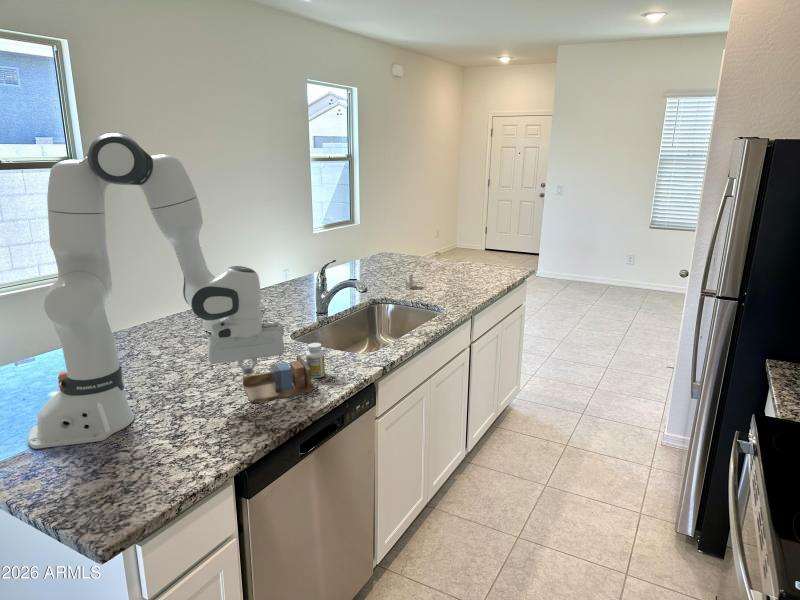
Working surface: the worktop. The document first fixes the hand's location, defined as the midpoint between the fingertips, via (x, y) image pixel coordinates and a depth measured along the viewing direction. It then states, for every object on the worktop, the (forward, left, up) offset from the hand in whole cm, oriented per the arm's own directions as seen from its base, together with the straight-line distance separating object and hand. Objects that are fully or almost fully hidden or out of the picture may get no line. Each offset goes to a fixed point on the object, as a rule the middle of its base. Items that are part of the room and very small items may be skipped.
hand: (247, 373), depth 148 cm
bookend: (+7, -1, -5) cm, 9 cm away
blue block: (+10, -1, -6) cm, 11 cm away
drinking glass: (-2, +63, -7) cm, 63 cm away
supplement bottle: (+21, +5, -7) cm, 22 cm away
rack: (+8, 0, -6) cm, 10 cm away
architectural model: (+94, +88, -7) cm, 129 cm away
